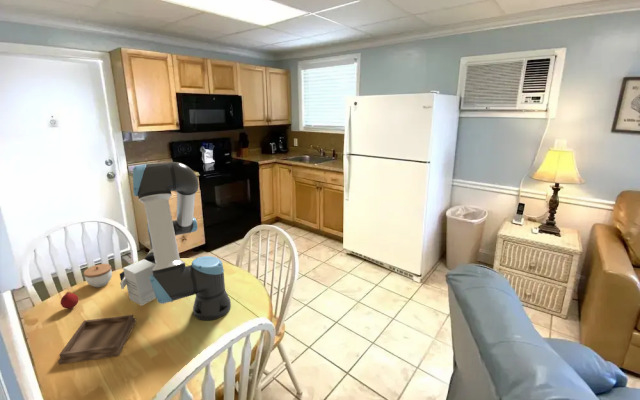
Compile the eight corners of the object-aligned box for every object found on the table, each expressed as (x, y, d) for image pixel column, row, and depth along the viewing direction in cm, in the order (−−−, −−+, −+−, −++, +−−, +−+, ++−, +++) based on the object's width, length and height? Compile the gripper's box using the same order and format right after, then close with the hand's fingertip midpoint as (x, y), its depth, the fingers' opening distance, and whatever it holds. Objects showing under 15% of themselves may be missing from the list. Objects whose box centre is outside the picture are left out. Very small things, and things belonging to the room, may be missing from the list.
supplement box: (149, 288, 136) (144, 258, 132) (162, 295, 132) (156, 263, 128) (128, 299, 129) (122, 267, 125) (141, 306, 125) (134, 273, 120)
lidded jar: (88, 293, 142) (83, 275, 139) (86, 282, 149) (81, 265, 146) (115, 284, 148) (111, 267, 145) (112, 275, 156) (108, 258, 153)
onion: (70, 313, 128) (66, 297, 125) (59, 311, 129) (54, 295, 126) (83, 305, 133) (79, 289, 131) (72, 303, 134) (68, 287, 132)
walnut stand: (136, 321, 124) (134, 313, 123) (119, 355, 108) (117, 347, 107) (85, 327, 120) (83, 319, 119) (59, 364, 104) (56, 355, 103)
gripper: (183, 263, 148) (173, 288, 128) (127, 269, 143) (107, 295, 123) (181, 249, 146) (170, 272, 126) (124, 254, 141) (103, 279, 121)
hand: (139, 284), depth 125 cm, fingers closed on supplement box, 12 cm apart
